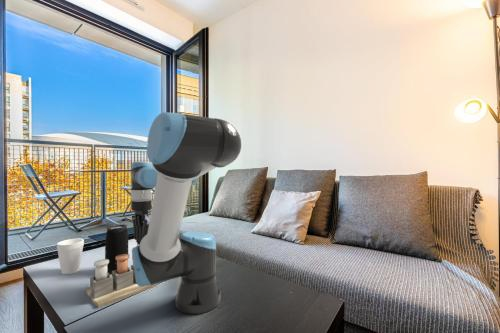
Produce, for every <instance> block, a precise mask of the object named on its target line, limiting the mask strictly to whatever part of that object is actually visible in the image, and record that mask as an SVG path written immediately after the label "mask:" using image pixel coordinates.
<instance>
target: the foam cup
mask: <svg viewBox="0 0 500 333" xmlns="http://www.w3.org/2000/svg"><path fill="white" fill-rule="evenodd" d="M84 245H85V239H84V238H79V237H78V238H69V239H65V240H61V241H59V242H57V243H56V250H57V255H58V261H59V266H60V272H61V275H71V274H74V273H77V272H79V270H80V267H81V263H82V262H81V261H82V256H83V249H84Z"/></svg>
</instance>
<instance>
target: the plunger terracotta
mask: <svg viewBox="0 0 500 333" xmlns="http://www.w3.org/2000/svg"><path fill="white" fill-rule="evenodd" d="M129 259H130V254H129V253H128V254H121V255H118V256H116V260H117V274H118V275H119V274H122V273H126V272H128V267H129Z"/></svg>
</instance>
